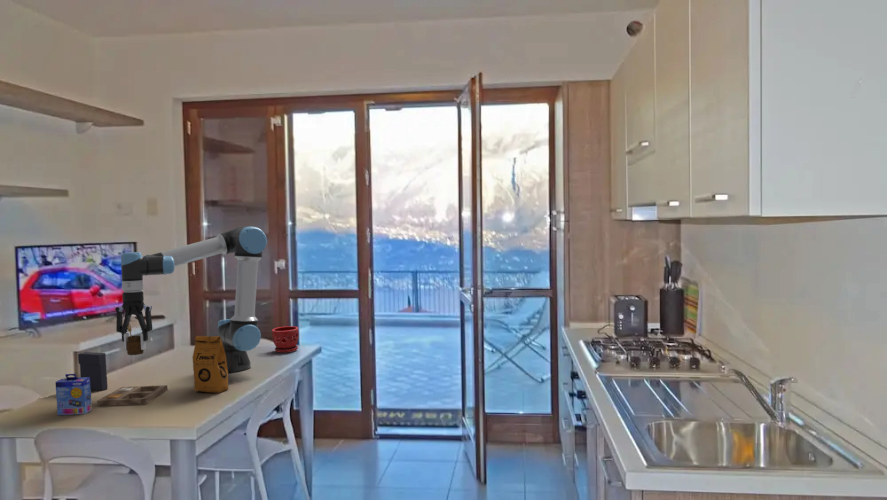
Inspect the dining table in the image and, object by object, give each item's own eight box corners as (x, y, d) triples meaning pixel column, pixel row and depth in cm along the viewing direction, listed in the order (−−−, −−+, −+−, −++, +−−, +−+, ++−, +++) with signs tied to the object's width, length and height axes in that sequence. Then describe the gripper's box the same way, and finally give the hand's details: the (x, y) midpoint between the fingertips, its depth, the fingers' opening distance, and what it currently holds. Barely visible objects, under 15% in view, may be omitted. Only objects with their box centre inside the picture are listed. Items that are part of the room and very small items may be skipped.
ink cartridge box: (56, 416, 230) (53, 375, 230) (64, 411, 236) (61, 371, 235) (85, 414, 231) (83, 373, 231) (92, 409, 237) (90, 370, 236)
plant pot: (274, 349, 341) (273, 326, 340) (300, 348, 342) (299, 325, 341) (271, 354, 328) (270, 330, 327) (297, 353, 329) (296, 329, 328)
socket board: (167, 390, 262) (167, 384, 262) (146, 404, 242) (146, 397, 242) (122, 391, 262) (122, 386, 262) (97, 406, 242) (96, 399, 242)
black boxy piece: (109, 388, 268) (107, 352, 267) (100, 391, 263) (98, 354, 263) (88, 387, 271) (86, 351, 270) (79, 390, 267) (77, 353, 266)
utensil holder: (135, 355, 255) (133, 325, 255) (123, 354, 258) (121, 324, 257) (147, 352, 261) (145, 323, 260) (135, 352, 263) (134, 322, 263)
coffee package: (217, 394, 252) (215, 338, 251) (190, 393, 256) (187, 337, 255) (233, 388, 262) (230, 333, 261) (206, 387, 265) (203, 333, 264)
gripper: (104, 292, 255) (106, 351, 256) (152, 291, 255) (154, 350, 255) (113, 290, 262) (116, 348, 263) (160, 289, 262) (163, 347, 263)
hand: (135, 349), depth 259 cm, fingers closed on utensil holder, 6 cm apart
